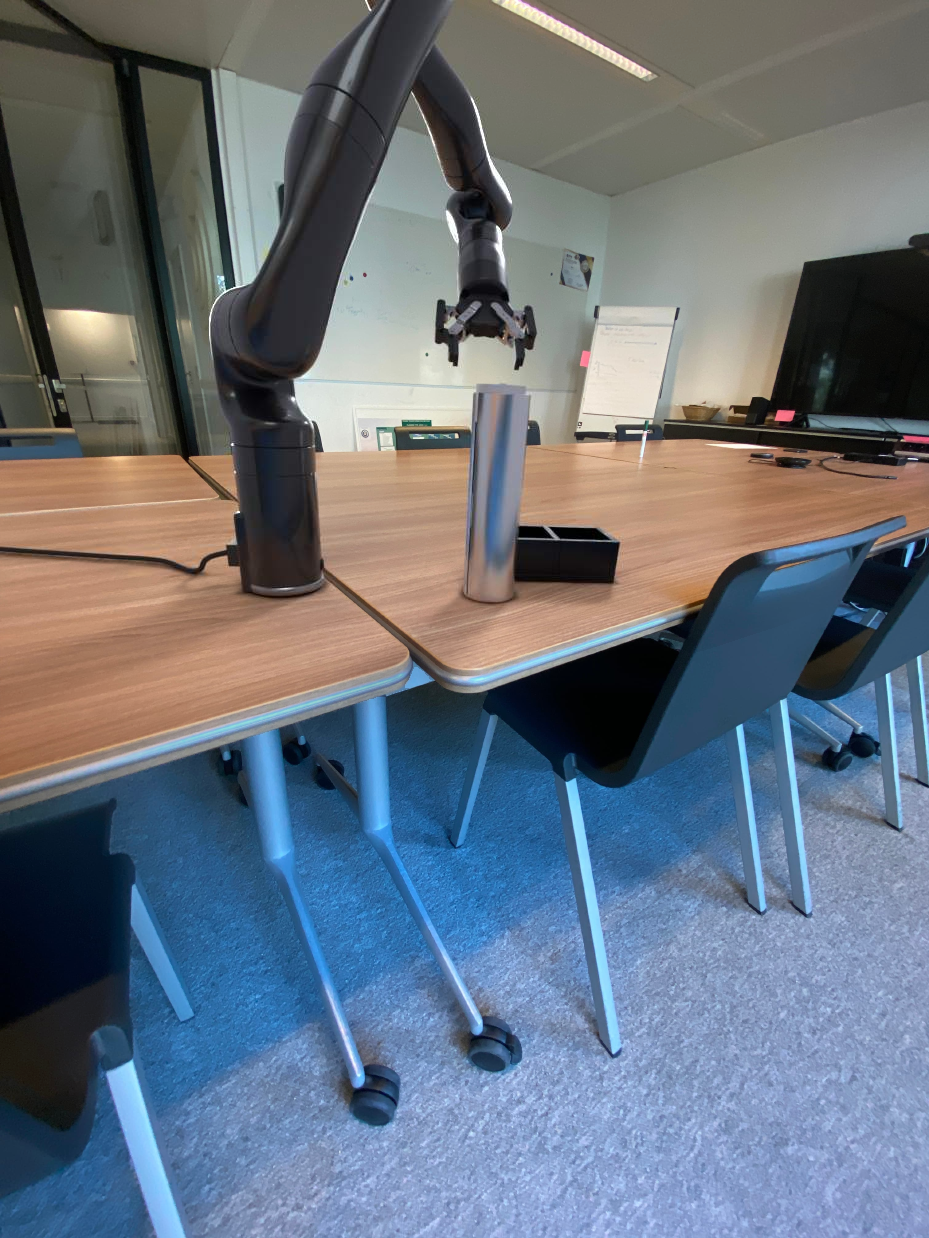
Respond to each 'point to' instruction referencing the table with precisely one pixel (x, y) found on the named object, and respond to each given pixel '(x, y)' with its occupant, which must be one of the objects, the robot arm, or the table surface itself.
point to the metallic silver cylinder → (495, 490)
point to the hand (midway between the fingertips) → (486, 363)
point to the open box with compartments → (565, 554)
